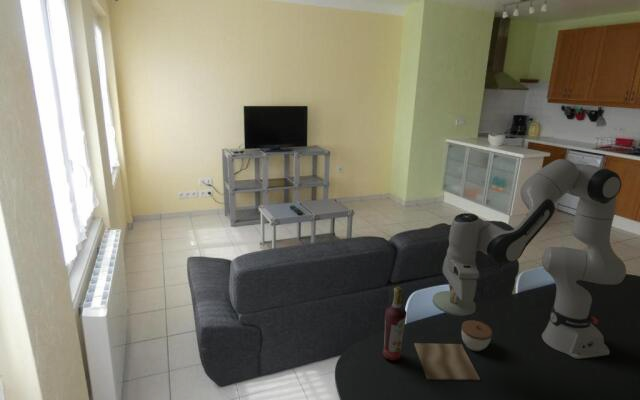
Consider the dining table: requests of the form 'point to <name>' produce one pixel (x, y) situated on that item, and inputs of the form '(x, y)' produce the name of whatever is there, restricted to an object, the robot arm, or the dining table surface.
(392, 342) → the liquor
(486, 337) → the lidded jar
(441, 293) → the lid
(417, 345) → the plate
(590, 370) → the dining table surface
